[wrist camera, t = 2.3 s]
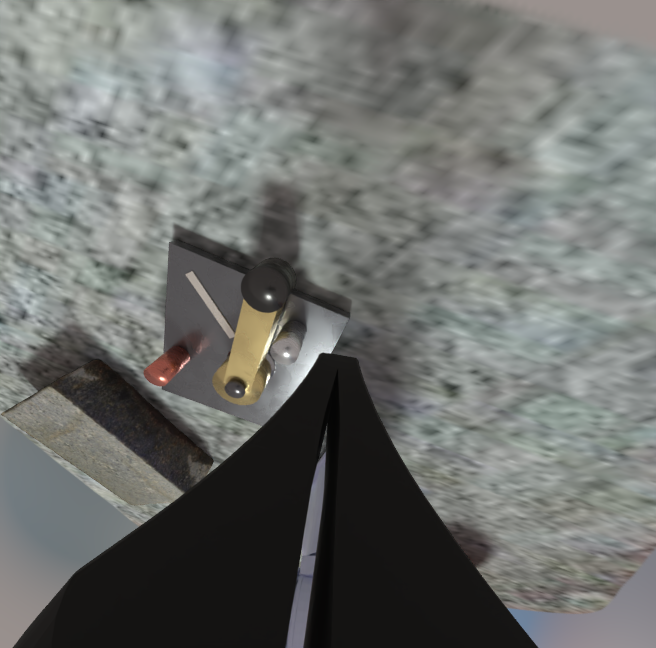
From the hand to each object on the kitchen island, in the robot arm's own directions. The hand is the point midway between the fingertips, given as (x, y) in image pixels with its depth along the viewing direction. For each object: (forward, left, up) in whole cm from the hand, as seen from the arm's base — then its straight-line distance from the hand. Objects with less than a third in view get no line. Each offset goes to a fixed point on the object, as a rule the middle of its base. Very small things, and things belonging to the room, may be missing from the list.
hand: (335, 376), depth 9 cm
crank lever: (-6, +5, -9) cm, 12 cm away
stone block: (-30, +17, -11) cm, 36 cm away
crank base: (-10, +5, -10) cm, 15 cm away
